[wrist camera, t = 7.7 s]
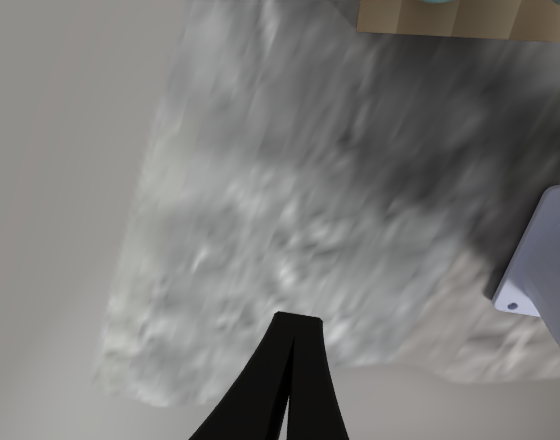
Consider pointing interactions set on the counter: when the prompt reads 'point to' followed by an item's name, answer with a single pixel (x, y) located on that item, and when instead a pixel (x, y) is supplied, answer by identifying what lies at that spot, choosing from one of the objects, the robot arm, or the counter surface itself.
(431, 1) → the button
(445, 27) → the button board
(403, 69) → the counter surface
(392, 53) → the counter surface
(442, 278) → the counter surface
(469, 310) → the counter surface
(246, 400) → the robot arm
